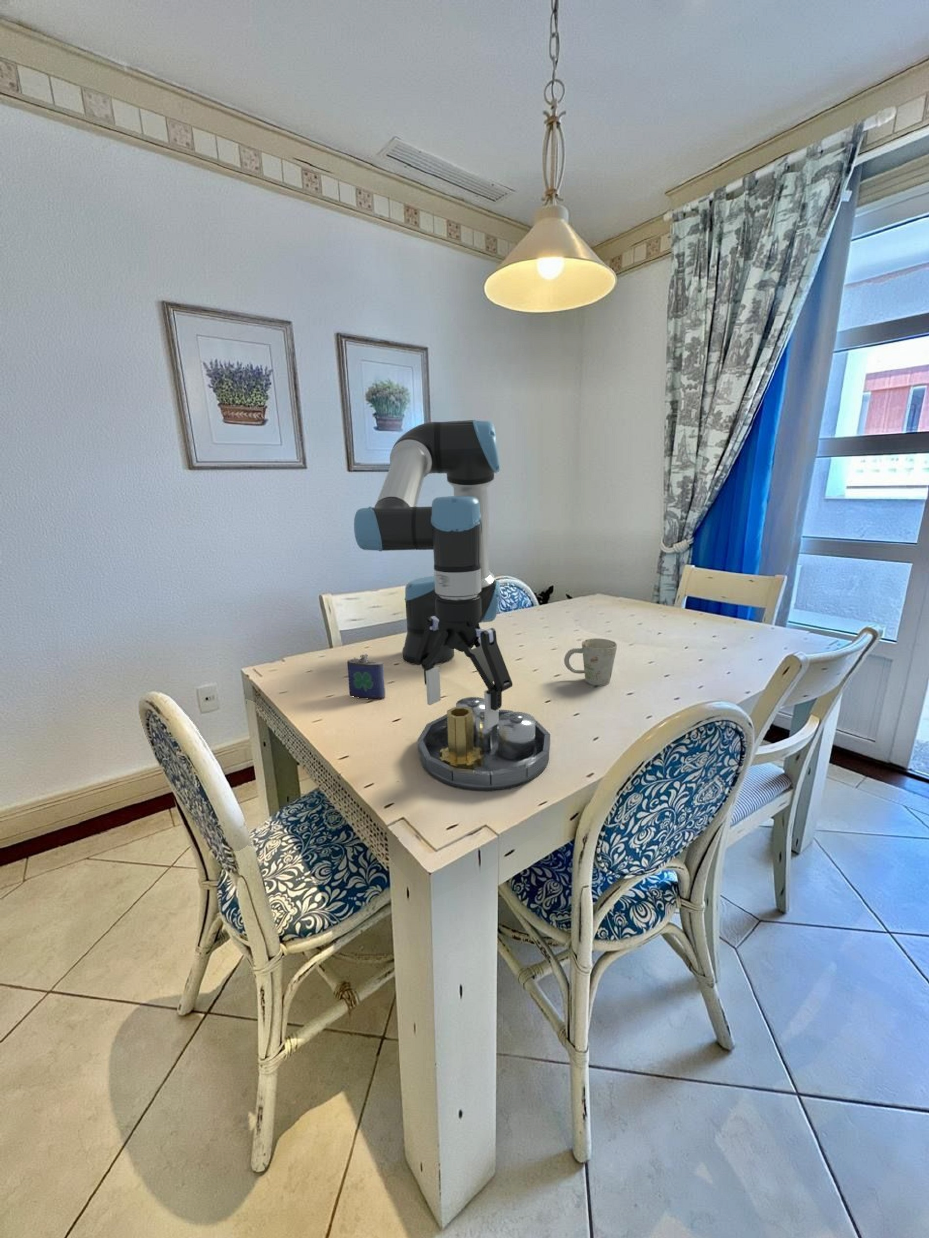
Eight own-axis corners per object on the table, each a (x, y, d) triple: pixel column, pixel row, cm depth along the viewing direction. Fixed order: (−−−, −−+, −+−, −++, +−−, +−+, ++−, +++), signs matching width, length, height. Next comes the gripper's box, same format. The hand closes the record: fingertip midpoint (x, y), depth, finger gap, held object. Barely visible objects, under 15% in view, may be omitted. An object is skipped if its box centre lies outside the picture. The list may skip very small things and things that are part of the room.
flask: (387, 695, 118) (384, 653, 115) (382, 701, 115) (378, 658, 113) (352, 692, 121) (348, 651, 118) (346, 697, 118) (342, 655, 115)
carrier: (393, 756, 91) (390, 717, 89) (477, 712, 108) (477, 678, 106) (493, 810, 76) (493, 764, 74) (573, 748, 93) (575, 709, 91)
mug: (616, 688, 119) (618, 649, 117) (563, 685, 122) (564, 647, 119) (613, 675, 127) (615, 638, 124) (563, 673, 130) (564, 637, 127)
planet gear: (430, 762, 87) (428, 713, 85) (460, 745, 92) (458, 699, 90) (462, 778, 82) (460, 727, 80) (491, 759, 87) (491, 710, 85)
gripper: (390, 588, 85) (398, 700, 91) (505, 611, 69) (505, 746, 75) (422, 581, 90) (427, 687, 96) (535, 601, 74) (533, 727, 80)
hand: (461, 713), depth 86 cm, fingers open, 13 cm apart
